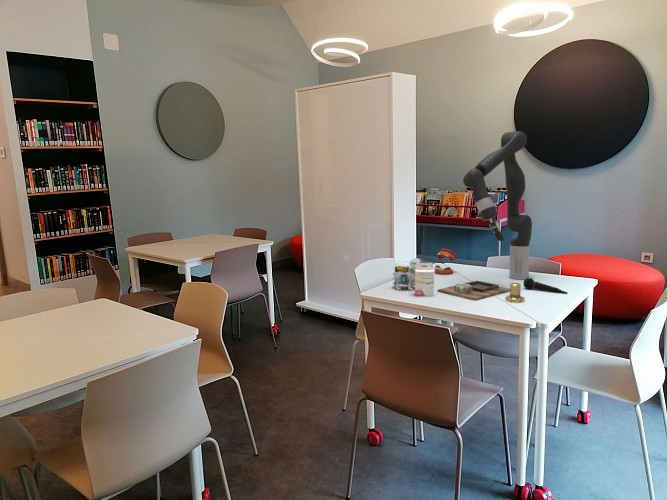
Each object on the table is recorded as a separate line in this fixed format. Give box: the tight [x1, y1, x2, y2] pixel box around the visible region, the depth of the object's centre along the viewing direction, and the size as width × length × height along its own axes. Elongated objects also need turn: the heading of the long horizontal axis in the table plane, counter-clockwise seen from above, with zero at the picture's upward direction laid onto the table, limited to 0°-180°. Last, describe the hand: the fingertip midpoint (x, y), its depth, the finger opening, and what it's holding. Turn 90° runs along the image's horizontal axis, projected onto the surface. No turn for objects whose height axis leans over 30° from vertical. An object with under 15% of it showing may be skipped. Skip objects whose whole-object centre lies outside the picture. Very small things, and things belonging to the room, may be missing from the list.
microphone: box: [522, 277, 568, 295], centre depth 232 cm, size 6×6×20 cm
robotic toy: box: [391, 257, 427, 292], centre depth 243 cm, size 13×17×15 cm
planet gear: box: [505, 282, 525, 304], centre depth 216 cm, size 8×8×8 cm
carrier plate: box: [437, 280, 510, 302], centre depth 234 cm, size 26×22×4 cm
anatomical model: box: [434, 247, 458, 276], centre depth 275 cm, size 10×8×15 cm
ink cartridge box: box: [414, 262, 435, 297], centre depth 230 cm, size 9×5×15 cm, turn 84°
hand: (501, 240), depth 230 cm, fingers open, 8 cm apart
